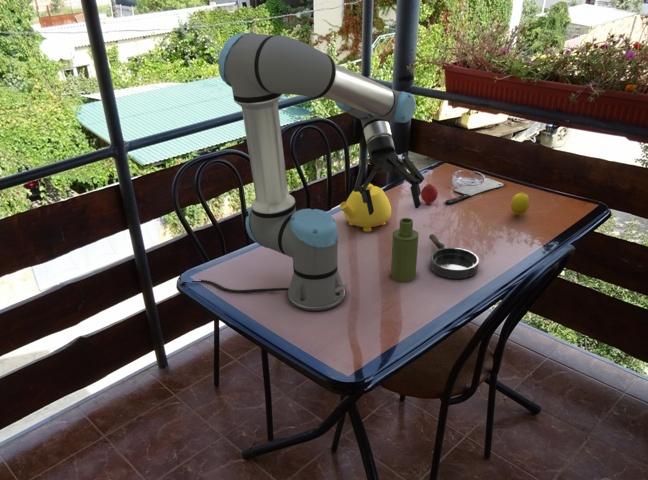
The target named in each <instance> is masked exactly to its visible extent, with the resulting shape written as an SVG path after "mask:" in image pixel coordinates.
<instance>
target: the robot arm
mask: <svg viewBox="0 0 648 480" xmlns="http://www.w3.org/2000/svg"><path fill="white" fill-rule="evenodd" d="M217 66H218V73H219V77H220V78H221V80H222V81H223V82H224V83H225V84H226V85H227V86H228V87H230V88H231V90H232V91H231V92H232V96H233V101H234V103H235V104H237V105H238V106H239V107H240V108H241V113H242V119H243V126H244V131H245V138H246V143H247V151H248V157H249V163H250V169H251V170H250V171H251V176H252V182H253V183H252V184H253V190H254V195H255V198H254V199H253V200H252V201H251V205H250V208H249V209H248V211H247V214H248V215H247V216H246V217H245V229H246V233H247V234H248V236H249V238H250V239H251V240H252V241H253V242H254V243H256V244H258V245H260V246H261V247H264V248H266V249H270V250H272V251H274V252H277V253H279V254H282V255H284V256H287V257H289V258H291V259H292V268H293V269H292V270H293V272H292V276H291V279H290V283H289V285H288V287H273V288H272V287H271V288H253V289H233V288H232V289H231V288H227V287H224V286H222V285H220V284H218V283H216V282H214V281H211V280H206V279H200V280H201V281H192V282H191V283H202V284H203V283H204V284H209V285H212V286H214V287H216V288H218V289H220V290H222V291H224V292H228V293H236V294H244V293H245V294H246V293H260V292H261V293H262V292H283V291H284V292H286V291H288V292H287V294H288V295H287V296H288V298H287V299H288V301H289V303H290V304H292V306H293V307H295V308H297V309H299V310H302V311H306V312H323V311H328V310H332V309H335V308H336V307H339V306H340V305H341V304H342V303H343V302H344V300H345V296H346V291H345V290H347V287H348V285H347V284H348V283H345V284H344V283H343V280H342V278H341V275H340V273H339V269H338V268H339V267H338V266H339V265H338V264H339V263H338V255H339V254H338V253H339V252H338V251H339V250H338V249H339V247H338V243H339V242H338V241H339V239H338V238H339V232H338V226H337V224H338V223H337V221H336V219H335V217H334V216H332V214H330V213H329V212H327V211H325V210H322V209H317V208H314V209H311V208H302V209H298V210H297V207H296V199H295V197H294V196H293V195H291V194H290V193H289V187H288V180H287V170H286V161H285V154H284V153H285V152H284V145H283V137H282V128H281V119H280V112H279V111H280V110H279V103H278V102H279V100H280V99H281V98H282V97H283V95H292V96H293V95H294V96H303V97H308V98H310V99H314V100H317V99H322V98H324V99H328V100H330V101H333V102H334V104H335V105H336V106H337V107H338V108H339V109H340V110H342V112H344V113H347V114H349V115H351V116H353V117H354V118H356V119H358V120H360V121H361V125H362V131H363V136H364V139H365V144H366V149H367V153H368V157H369V158H366V157H364V156H362V157H361V158H360V160H359V162H358V163H359V170H358V173H357V178H356V180H355V184H354V187H353V190H354V192H360V194H361V195H362V200H363V203H367V207H368V212H369V215H372V213H373V212H374V209H373V204H372V199H371V195H370V190H369V189H368V190H366V188H367V187H368V185H369V184H371V182H372V180H373V178H374V177H375V175H376V174H377V173H379V174H383V173H390V172H393V173H394V174H397V175H399V177H401V178H402V179H403V180H404V181H405V182H407V183H408V184H410V187H409V189H410V193H411V197H412V202H413V205H414V209H418V208H420V206H421V205H422V204H421V200H420V196H421V191H422V190H421V187H420V184H422V183H423V182H424V180H425V176H424V175H423V174H422V172H420V170H419V169H418V168H417V166H416V165H415V164H414V163H413V162H412V160H411V159H410V157H409V154H408V152H406V151H403V153H401V154H397V153H396V148H395V143H394V140H393V137H392V136H393V135H392V132H391V127H390V123H389V122H393V123H400V124H401V123H402V124H405V123H408V122H410V120H411V119H412V118H413V116H414V115H415V111H416V107H417V102H416V98H415V96H414V95H413V94H412V93H411V92H406V91H403V90H402V91H399V90H395V89H393V88H391V87H388V86H387V85H383V84H382V83H380V82H377V81H376V80H372V79H371V78H368V77H366V76H364V75H362V74H359V73H357V72H355V71H353V70H351V69H349V68H346V67H344V66H342V65H339V64H337V63H336V62H335V60H334V58H333V57H332V56H331V55H330V54H327V53H326V52H323V51H321V50H319V49H317V48H315V47H314V46H311V45H309V44H307V43H305V42H303V41H301V40H298V39H296V38H293V37H290V36H287V35H278V34H277V35H275V34H263V33H256V32H255V33H254V32H246V33H245V32H243V33H236V34H234V35H232V36H230V37H229V38H228V39H227V40H226V41H225V43H224V44H223V47H222V48H221V50H220V53H219V56H218V62H217ZM398 161H399V162H400V163H402V164H400V163H399V162H398ZM368 164H369V165H370V166H371V167H372V170H371V172H370V173H369V175H368V176H367V178H366V179H365V181H364V183H363V184H362V181H363V177H364V173H365V170H366V168H367V166H368ZM402 165H403V166H402ZM361 184H362V185H361ZM188 283H189V282H184V281H182V282H181V283H180V284H179V286H181V287H183V286H184V285H186V284H188Z"/></svg>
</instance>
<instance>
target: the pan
mask: <svg viewBox="0 0 648 480" xmlns="http://www.w3.org/2000/svg"><path fill="white" fill-rule="evenodd" d="M479 265H480V258H479V256H477V254H476V253H475V252H472V251H471V250H468V249H464V248H460V247H446V248H442V249H436V250H434V251H433V252H431V254H430V256H429V269H430V271H432V272H433V273H434V274H436V275H437V276H439V277H443V278H448V279H456V280H457V279H459V280H460V279H467V278H469V277H473V276H474V275H476V274H477V272H478V270H479Z"/></svg>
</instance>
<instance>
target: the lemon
mask: <svg viewBox="0 0 648 480" xmlns="http://www.w3.org/2000/svg"><path fill="white" fill-rule="evenodd" d="M529 207H530V197H529V196H528V195H527V194H526V193H524V192H519V193H517V194H515V195H514V196H513V197H512V199H511V202H510V208H511V211H512V212H513V213H514V214H516V215H517V216H520V215H522V214H525V213H526V212H527V211H528V209H529Z"/></svg>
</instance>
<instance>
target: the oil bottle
mask: <svg viewBox="0 0 648 480" xmlns="http://www.w3.org/2000/svg"><path fill="white" fill-rule="evenodd" d="M398 227H399V228H398V229H396V230H394V231H393V232H392V241H391V242H392V243H391V263H390V277H391V279H392V280H394V281H397V282H399V283H400V282H402V283H407V282H411V281H413V280H415V278H416V273H417V260H418V247H419V235H420V234H419V232H417V231H416V230H415V229H413V227H414V219H413V218H410V217H403V218H400V219H399V226H398Z"/></svg>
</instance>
